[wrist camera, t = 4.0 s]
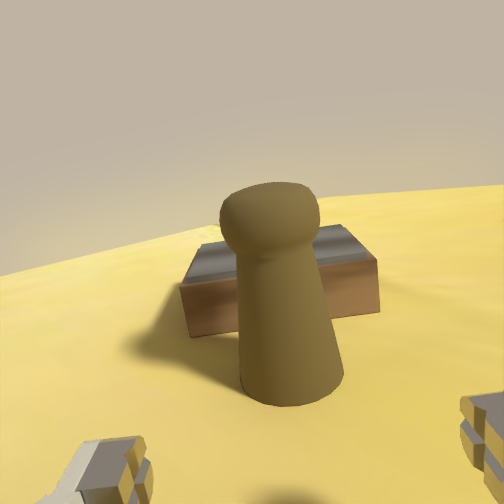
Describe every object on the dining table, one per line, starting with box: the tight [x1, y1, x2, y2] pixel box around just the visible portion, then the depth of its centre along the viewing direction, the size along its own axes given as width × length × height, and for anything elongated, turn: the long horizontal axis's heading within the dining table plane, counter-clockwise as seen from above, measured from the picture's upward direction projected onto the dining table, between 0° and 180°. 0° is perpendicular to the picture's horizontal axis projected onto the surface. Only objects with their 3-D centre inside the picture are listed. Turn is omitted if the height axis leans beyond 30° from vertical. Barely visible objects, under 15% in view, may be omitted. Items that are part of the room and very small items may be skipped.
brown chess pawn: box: [219, 182, 344, 407], centre depth 22 cm, size 6×6×11 cm
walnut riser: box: [179, 224, 380, 337], centre depth 33 cm, size 10×14×4 cm
